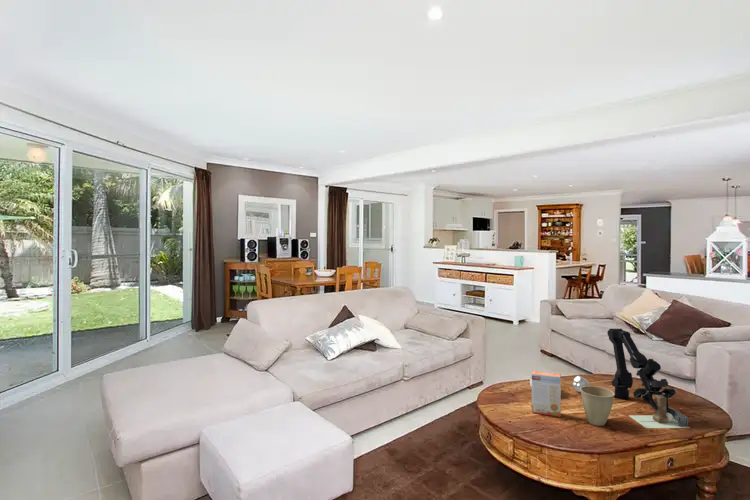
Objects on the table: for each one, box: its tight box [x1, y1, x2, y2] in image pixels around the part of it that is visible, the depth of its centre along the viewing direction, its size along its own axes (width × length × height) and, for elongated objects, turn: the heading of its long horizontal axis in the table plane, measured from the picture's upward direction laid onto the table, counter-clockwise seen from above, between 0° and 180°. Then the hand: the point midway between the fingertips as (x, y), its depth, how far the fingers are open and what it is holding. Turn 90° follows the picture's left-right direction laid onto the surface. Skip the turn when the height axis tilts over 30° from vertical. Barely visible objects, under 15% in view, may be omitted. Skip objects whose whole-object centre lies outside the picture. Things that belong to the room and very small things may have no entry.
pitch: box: [628, 414, 691, 429], centre depth 206 cm, size 21×14×1 cm, turn 90°
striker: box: [652, 395, 668, 423], centre depth 206 cm, size 4×4×12 cm
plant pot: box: [580, 385, 615, 427], centre depth 206 cm, size 15×15×16 cm
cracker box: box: [531, 370, 562, 418], centre depth 218 cm, size 14×6×21 cm, turn 65°
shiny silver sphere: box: [572, 375, 590, 394], centre depth 247 cm, size 9×10×10 cm
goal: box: [666, 407, 689, 427], centre depth 206 cm, size 4×12×4 cm, turn 0°
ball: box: [666, 413, 674, 422], centre depth 206 cm, size 4×4×4 cm
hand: (662, 409), depth 204 cm, fingers open, 5 cm apart
